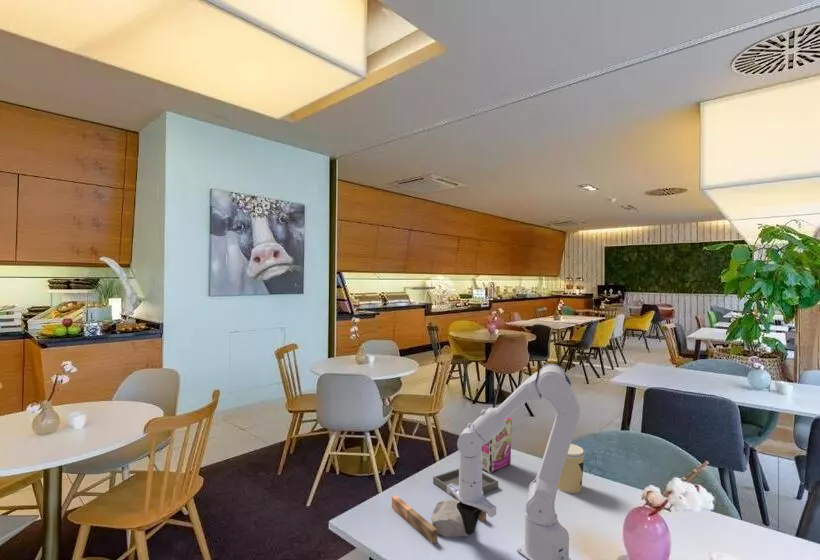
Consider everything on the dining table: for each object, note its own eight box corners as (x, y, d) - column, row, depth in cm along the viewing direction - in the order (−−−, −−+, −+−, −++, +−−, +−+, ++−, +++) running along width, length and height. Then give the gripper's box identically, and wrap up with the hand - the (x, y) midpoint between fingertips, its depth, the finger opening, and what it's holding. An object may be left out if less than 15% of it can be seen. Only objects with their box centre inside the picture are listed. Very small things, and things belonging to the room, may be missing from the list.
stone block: (432, 542, 104) (471, 538, 102) (428, 522, 104) (467, 518, 103) (437, 517, 116) (472, 513, 114) (433, 499, 116) (469, 495, 114)
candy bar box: (491, 474, 136) (491, 424, 136) (479, 469, 140) (479, 420, 140) (511, 464, 143) (512, 417, 143) (500, 459, 147) (500, 414, 147)
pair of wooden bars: (486, 520, 110) (486, 508, 110) (432, 543, 100) (432, 531, 100) (442, 489, 126) (442, 479, 126) (391, 507, 116) (391, 496, 116)
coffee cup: (587, 496, 123) (588, 455, 123) (555, 493, 125) (555, 453, 125) (580, 480, 132) (580, 443, 132) (549, 478, 134) (550, 441, 134)
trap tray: (498, 487, 127) (498, 481, 127) (460, 502, 119) (460, 495, 119) (469, 471, 138) (469, 465, 138) (433, 483, 130) (433, 476, 130)
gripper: (504, 483, 99) (504, 540, 99) (459, 463, 110) (459, 513, 110) (485, 493, 95) (485, 552, 95) (441, 470, 106) (440, 523, 106)
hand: (470, 532), depth 102 cm, fingers closed
